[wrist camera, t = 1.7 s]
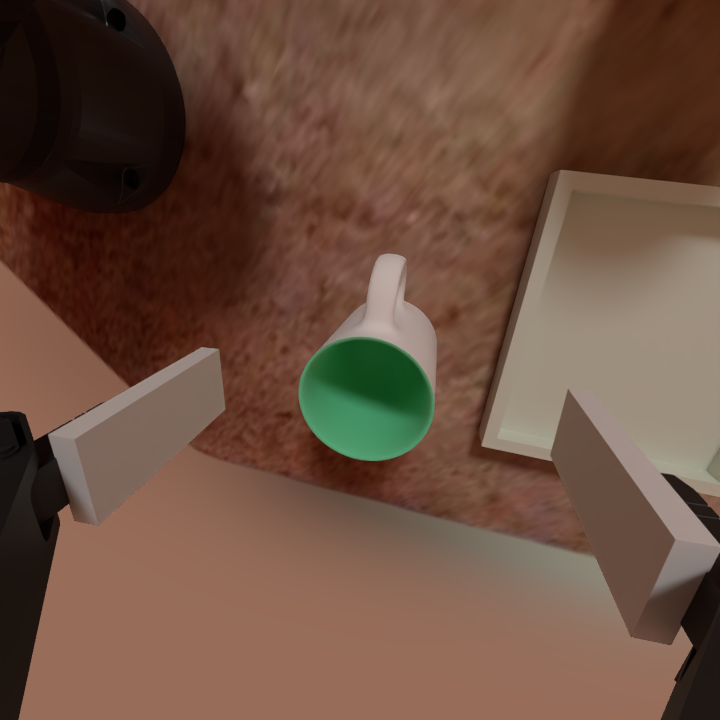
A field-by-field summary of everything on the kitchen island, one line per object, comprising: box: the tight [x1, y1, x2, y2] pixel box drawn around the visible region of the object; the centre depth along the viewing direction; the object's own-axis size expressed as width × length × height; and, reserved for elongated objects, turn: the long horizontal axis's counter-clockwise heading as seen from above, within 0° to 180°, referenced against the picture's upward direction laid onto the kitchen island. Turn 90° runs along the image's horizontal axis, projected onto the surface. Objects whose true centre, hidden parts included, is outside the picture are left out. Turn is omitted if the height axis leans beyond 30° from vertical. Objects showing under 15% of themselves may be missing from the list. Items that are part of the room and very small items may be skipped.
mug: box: [299, 254, 437, 461], centre depth 26 cm, size 12×8×10 cm
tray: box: [479, 170, 720, 497], centre depth 27 cm, size 18×20×2 cm
